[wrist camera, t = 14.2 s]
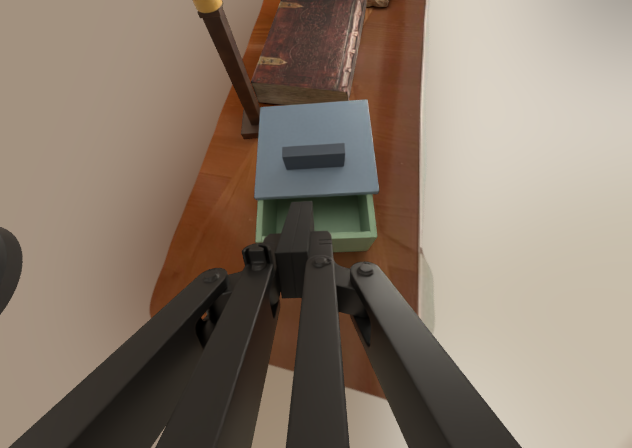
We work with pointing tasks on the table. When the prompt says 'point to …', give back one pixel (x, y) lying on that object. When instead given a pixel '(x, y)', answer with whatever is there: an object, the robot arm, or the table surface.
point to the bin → (325, 219)
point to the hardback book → (310, 52)
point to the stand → (234, 69)
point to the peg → (207, 5)
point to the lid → (315, 151)
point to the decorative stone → (377, 3)
